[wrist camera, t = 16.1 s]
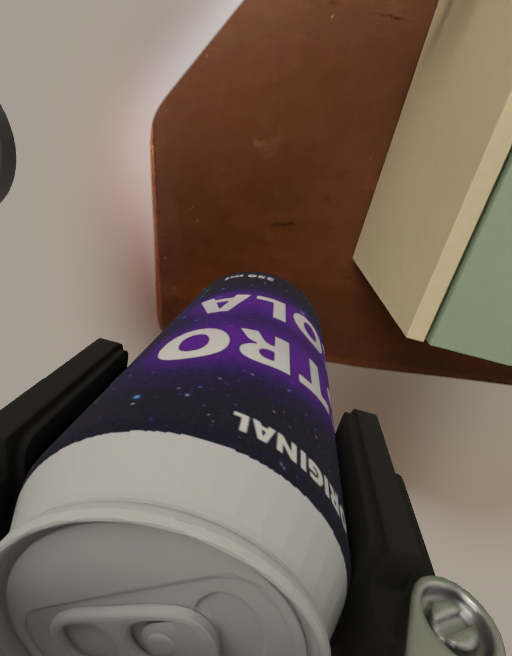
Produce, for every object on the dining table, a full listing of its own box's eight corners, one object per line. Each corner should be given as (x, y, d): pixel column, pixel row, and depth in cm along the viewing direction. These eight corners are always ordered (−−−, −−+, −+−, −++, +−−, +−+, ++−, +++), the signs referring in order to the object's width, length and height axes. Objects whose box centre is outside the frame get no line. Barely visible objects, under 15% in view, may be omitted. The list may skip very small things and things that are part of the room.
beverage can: (332, 378, 16) (390, 777, 5) (211, 396, 18) (52, 759, 6) (307, 252, 15) (317, 460, 4) (175, 282, 16) (-135, 512, 5)
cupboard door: (303, 245, 42) (303, 310, 20) (386, -48, 33) (565, -559, 10) (360, 260, 42) (424, 342, 20) (461, -31, 32) (807, -512, 10)
